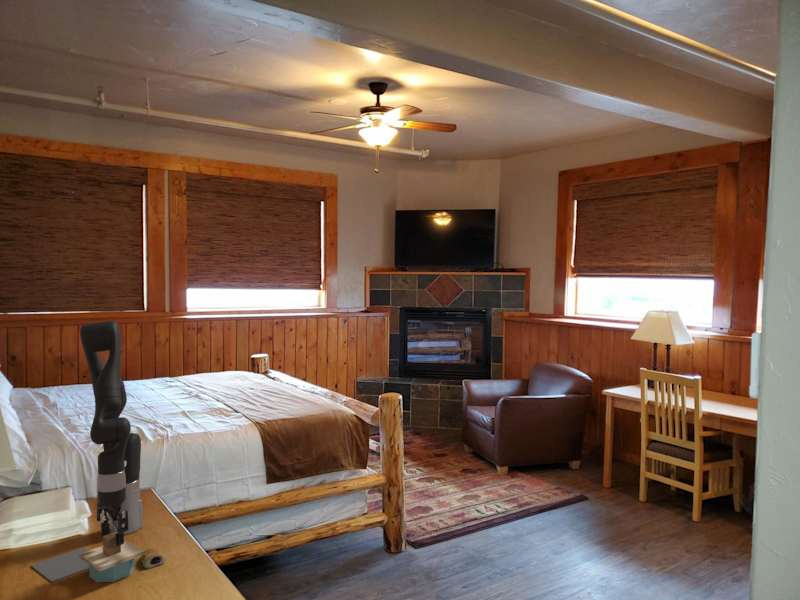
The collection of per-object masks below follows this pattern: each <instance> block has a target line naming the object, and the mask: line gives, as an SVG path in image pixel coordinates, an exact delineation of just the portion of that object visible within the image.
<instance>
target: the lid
mask: <svg viewBox="0 0 800 600" xmlns="http://www.w3.org/2000/svg"><path fill="white" fill-rule="evenodd" d="M144 554H145V550H144V549H142V548H140V547H139V546H137V545H135V544H134V543H131V542H130V541H127V540H126V539H124V544H122V545H120V546H116V545H115V532H114V533H111V532H110V534H108V535H105V536H103V538H102V545H101V546H98V547H96V548H92V549H89V550H88V551H86V552H83V553H81V554H79V558H81V559H82V560H84V561H85V562H87V563H88V564H90V565H91V566H93V567H94V568H96V569H97V570H99V571H102V570H105V569H107V568H110V567H113V566H115V565H118V564H120V563H123V562H126V561H128V560H131V559H134V558H135V559H136V558H139V557H141V556H142V555H144Z"/></svg>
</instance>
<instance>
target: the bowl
mask: <svg viewBox="0 0 800 600" xmlns="http://www.w3.org/2000/svg"><path fill="white" fill-rule="evenodd" d="M135 560H136V558H134V559H131V560H128V561H126V562H123V563H120V564H118V565H115V566H113V567H110V568H107V569H105V570H102V571H99V570H97V569H96V568H94V567H93V566H91V565H90V564H89V567H90V569H89V578H90V579H91V580H93V581H95V582H96V583H111V582H113V583H114V582H116V581H119V580H121V579H125V578H126V577H129V576H130V575H131V574H132V572H133V571H134V570H135V568H136V565H135V564H136V562H135Z"/></svg>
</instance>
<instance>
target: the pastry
mask: <svg viewBox="0 0 800 600" xmlns="http://www.w3.org/2000/svg"><path fill="white" fill-rule="evenodd" d="M144 551H145V554H144V555H141V556H140V558H141V559H140V561H141V563H142V565H143V567H144V568H145V569H151V568H154V567H158V566H161V565H163V564H164V563H165V562H166V560H167V557H166V554H165V553H164V552H163V551H162V550H161V549H157V548H147V549H145V550H144Z"/></svg>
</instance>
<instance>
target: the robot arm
mask: <svg viewBox="0 0 800 600" xmlns="http://www.w3.org/2000/svg"><path fill="white" fill-rule="evenodd" d="M121 335H122V334H121V329H120V326H119V324H118V322H117V321H115V320H106V321H99V322H97V321H96V322H90V323H89V322H88V323H85V324H82V325H81V327H80V330H79V336H80V340H81V341H80V343H81V345H82V348H83V352H84V355H85V359H86V363H87V365H88V366H87V367H88V370H89V374H90V379H91V380H90V381H91V386H92V391H93V396H94V406H95V409H94V417H93V421H92V423H91V427H90V431H89V437H90V440H91V442H92V443H93V444H95V445H102V449H103V451H101V452H100V453H98V455H97V479H96V488H97V489H96V491H97V493H96V495H97V497H96V498H97V502H96V521H97V522H99V525H100V530H101V531H100V532H101V533H100V534H101V535H100V536H101V538H102V539H103V536H105V535H108V534H111V533H114V532H115V545H116V546H120V545H122V544H124V540H125V535H129V534H133V533H135V532H136V531H138V530H140V528H143V526H144V525H143V519H144V518H143V517H144V516H143V499H141V496H140V495H141V494H140V493H141V491H140V490H141V487H140V483H141V482H140V481H141V480H140V473H141V453H142V440H141V437H140V435H139V434H138V433H135V432H134V433H133V432H131V428H132V425H131V422H130V421H129V419H128V418H127V417H121V414H122V412H123V411H124V409H125V407H126V405H127V401H128V399H127V394H126V393H127V391H126V387H125V382H124V381H123V379H122V378H121V365H122V363H121V361H122V336H121ZM107 351H109V355H108V359H107V360H106V363H104V361H103V360H102V359H101V357H100V355H99V354H98V353H100V352H107ZM125 462H126V464H125Z"/></svg>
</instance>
